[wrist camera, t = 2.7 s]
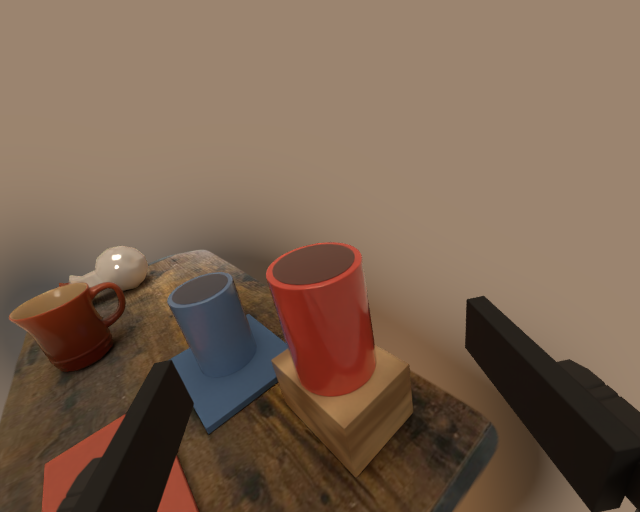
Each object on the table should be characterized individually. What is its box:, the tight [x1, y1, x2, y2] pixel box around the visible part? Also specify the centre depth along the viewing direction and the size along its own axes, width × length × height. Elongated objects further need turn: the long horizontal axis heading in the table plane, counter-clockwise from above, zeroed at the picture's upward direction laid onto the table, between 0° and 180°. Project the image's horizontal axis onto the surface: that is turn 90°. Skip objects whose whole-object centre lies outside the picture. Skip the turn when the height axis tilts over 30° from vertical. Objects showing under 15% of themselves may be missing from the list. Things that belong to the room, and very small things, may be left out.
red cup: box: [266, 243, 377, 397], centre depth 24 cm, size 7×7×10 cm
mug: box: [9, 282, 126, 372], centre depth 43 cm, size 12×9×10 cm
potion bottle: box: [59, 246, 149, 303], centre depth 62 cm, size 9×10×15 cm
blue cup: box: [167, 272, 257, 378], centre depth 36 cm, size 7×7×10 cm
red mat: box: [42, 414, 199, 512], centre depth 24 cm, size 20×10×1 cm, turn 40°
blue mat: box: [170, 314, 288, 434], centre depth 37 cm, size 14×12×1 cm
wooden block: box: [271, 345, 413, 478], centre depth 28 cm, size 10×8×6 cm
